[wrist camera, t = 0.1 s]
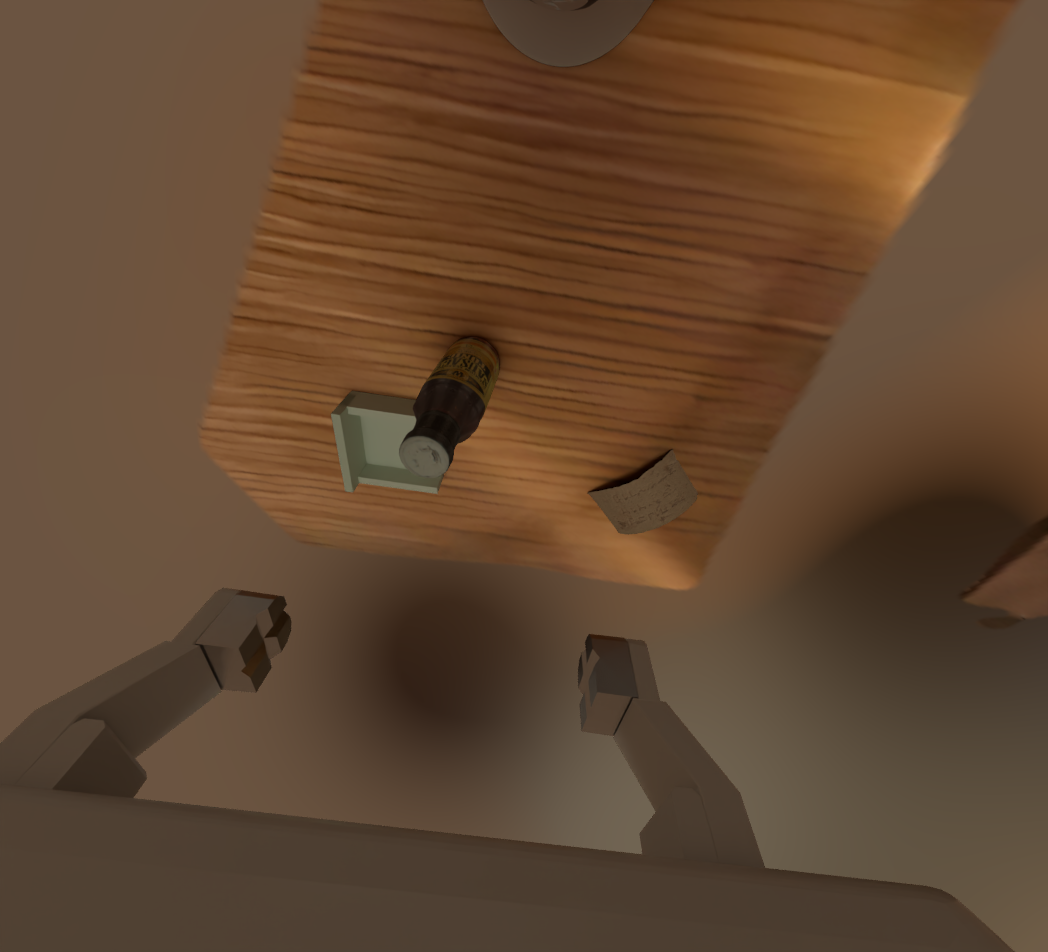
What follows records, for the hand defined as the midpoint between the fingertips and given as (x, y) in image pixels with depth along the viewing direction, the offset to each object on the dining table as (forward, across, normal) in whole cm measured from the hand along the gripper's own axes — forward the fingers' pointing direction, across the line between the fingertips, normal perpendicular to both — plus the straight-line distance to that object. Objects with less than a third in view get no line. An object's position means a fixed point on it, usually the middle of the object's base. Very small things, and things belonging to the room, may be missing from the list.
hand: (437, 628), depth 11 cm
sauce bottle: (+40, +5, +5) cm, 40 cm away
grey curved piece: (+42, -20, +21) cm, 51 cm away
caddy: (+41, +14, +17) cm, 46 cm away
